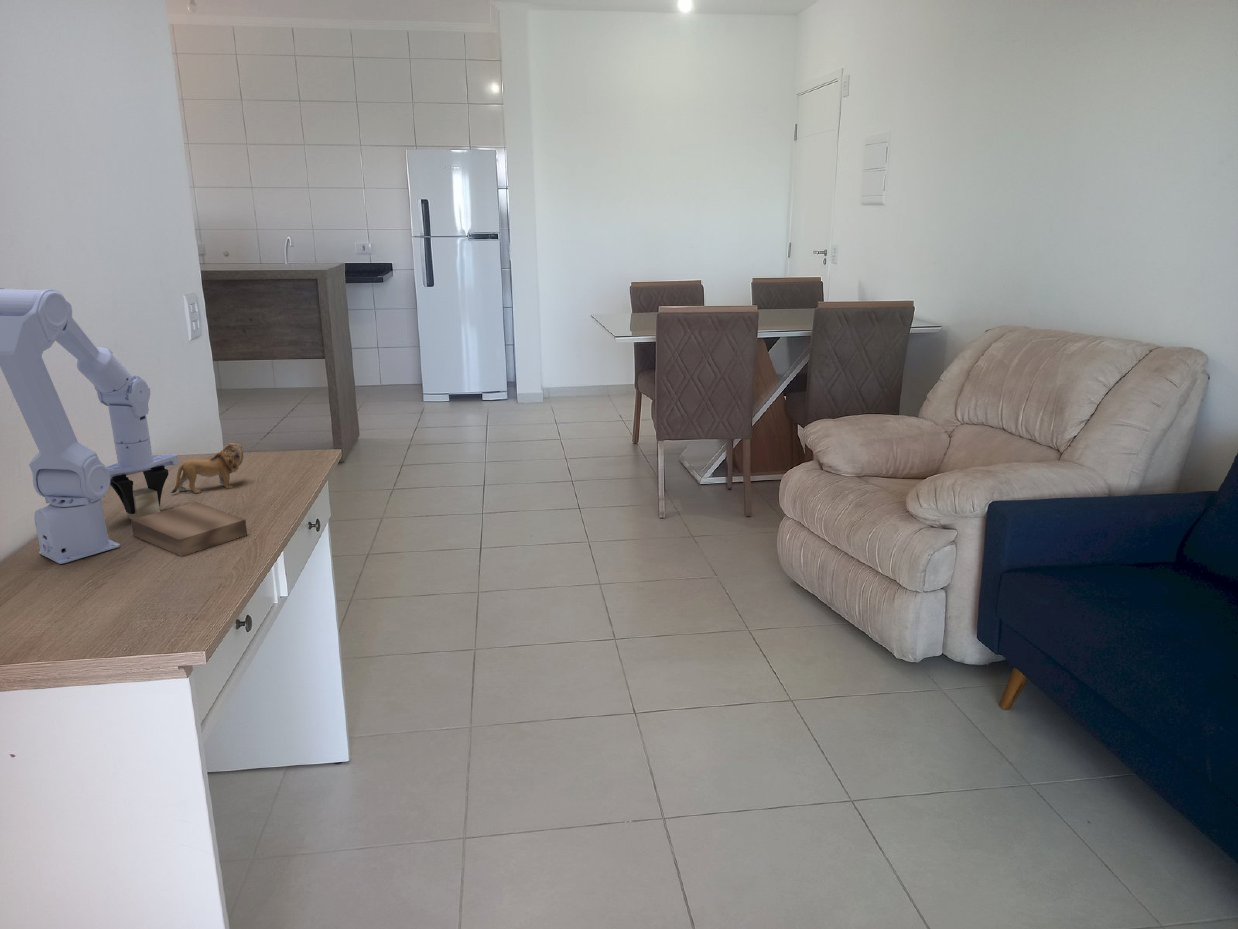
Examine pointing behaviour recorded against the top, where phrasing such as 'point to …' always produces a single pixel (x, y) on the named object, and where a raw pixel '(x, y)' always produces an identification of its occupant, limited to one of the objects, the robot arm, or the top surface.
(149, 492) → the birch block
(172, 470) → the top surface
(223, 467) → the lion figurine
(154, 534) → the walnut plinth
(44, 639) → the top surface
